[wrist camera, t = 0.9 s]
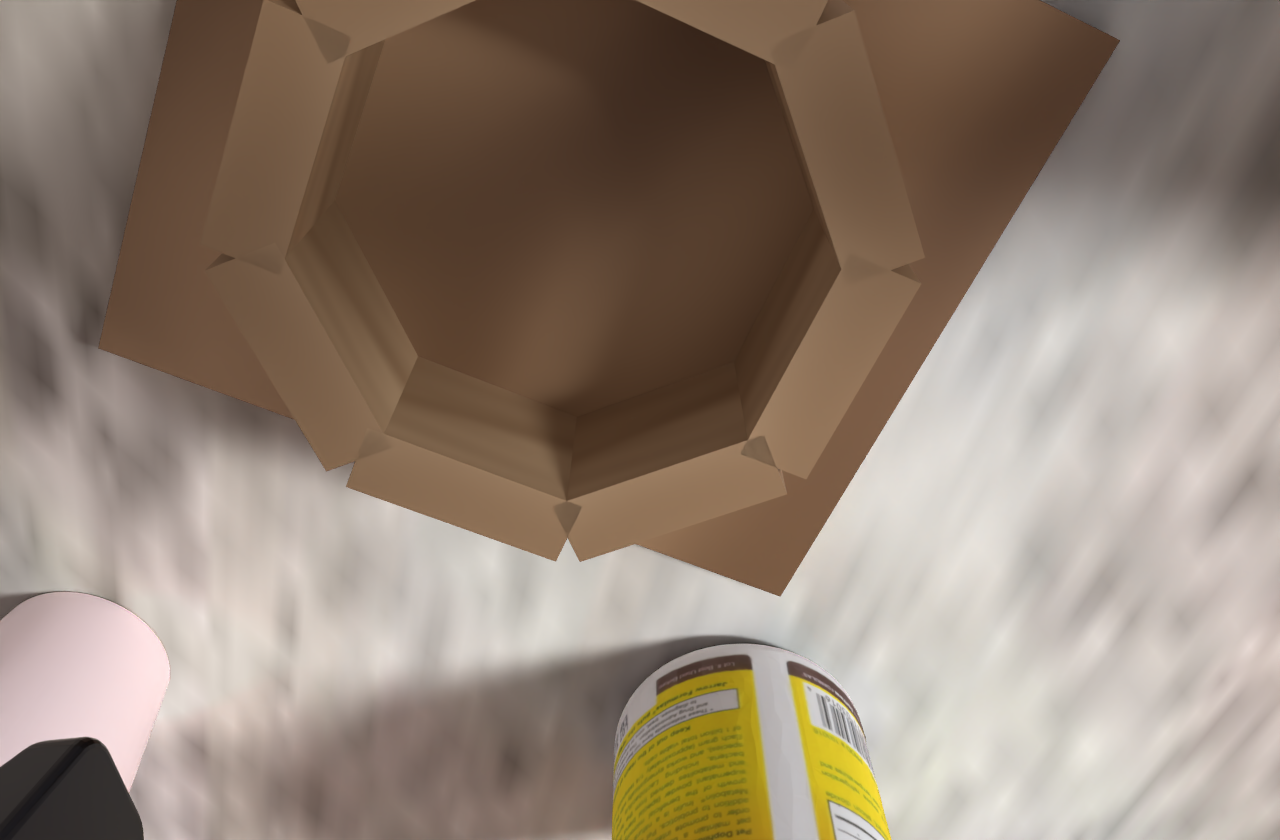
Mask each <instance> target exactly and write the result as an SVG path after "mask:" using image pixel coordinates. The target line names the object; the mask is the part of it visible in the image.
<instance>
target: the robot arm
mask: <svg viewBox="0 0 1280 840" xmlns="http://www.w3.org/2000/svg"><path fill="white" fill-rule="evenodd" d="M0 840H144V836H143V827H142V822H141V819H140V816H139V814H138V812H137V809H136V807H135V805H134V803H133V801H132V799H131V797H130V795H129V792H128V790H127V788H126V786H125V784H124V782H123V780H122V778H121V775H120V773H119V771H118V769H117V767H116V765H115V763H114V761H113V759H112V756H111V754H110V752H109V751H108V749H107V747H106V746H105V745H104V744H103V743H102V742H100V741H99V740H98V739H96V738H91V737H77V738H66V739H56V740H46V741H42V742H37V743H35V744H32V745H30V746H29V747H27V748H26V749H24V750H23V751H21V752H20V753H19V754H17V755H16V756H14V757H13V758H12V759H10V760H9V761H8V762H6V763H5V764H3V765H2V766H1V767H0Z"/></svg>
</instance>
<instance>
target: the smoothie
mask: <svg viewBox="0 0 1280 840" xmlns="http://www.w3.org/2000/svg"><path fill="white" fill-rule="evenodd" d="M169 680H170V665H169V660H168V657H167V654H166V651H165V649H164V647H163V645H162V643H161V642H160V640H159V639H158V637H157V636H156V634H155V633H154V632H153V631H152V630H151V628H150V627H149V626H148V625H147V624H146V623H145V622H143V621H142V620H141V619H140V618H139V617H137V616H136V615H134V614H133V613H132V612H130V611H128V610H127V609H125V608H124V607H122V606H120V605H118V604H116V603H113V602H111V601H109V600H106V599H103V598H100V597H97V596H93V595H89V594H84V593H77V592H52V593H46V594H41V595H38V596H35V597H32V598H30V599H27V600H25V601H24V602H22V603H20V604H19V605H18V606H16V607H15V608H14V609H13V610H12V611H10V612H9V613H8V614H7V615H6V616H5V617H4V618H3V619H1V620H0V767H1V766H2V765H3V764H5V763H6V762H8V761H9V760H10V759H12V758H13V757H14V756H16V755H17V754H19V753H20V752H21V751H23V750H24V749H26V748H27V747H29V746H30V745H32V744H35V743H37V742H42V741H46V740H56V739H66V738H77V737H91V738H96V739H98V740H99V741H100V742H102V743H103V744H104V745H105V746H106V747H107V749H108V751H109V752H110V754H111V756H112V759H113V761H114V763H115V765H116V767H117V769H118V771H119V773H120V775H121V778H122V780H123V782H124V784H125V786H126V788H127V790H128V792H129V791H130V789H131V786H132V783H133V781H134V778H135V775H136V772H137V770H138V767H139V764H140V761H141V759H142V756H143V753H144V750H145V748H146V745H147V742H148V740H149V737H150V734H151V731H152V729H153V726H154V723H155V720H156V718H157V715H158V712H159V710H160V707H161V704H162V701H163V699H164V696H165V693H166V690H167V688H168V685H169Z"/></svg>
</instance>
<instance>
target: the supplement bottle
mask: <svg viewBox="0 0 1280 840" xmlns="http://www.w3.org/2000/svg"><path fill="white" fill-rule="evenodd" d="M612 840H891V837H890V833H889V829H888V825H887V822H886V818H885V814H884V810H883V806H882V802H881V798H880V794H879V791H878V787H877V782H876V778H875V775H874V771H873V767H872V763H871V759H870V755H869V751H868V748H867V744H866V737H865V735H864V731H863V728H862V725H861V722H860V718H859V716H858V713H857V711H856V708H855V706H854V704H853V702H852V700H851V698H850V697H849V695H848V694H847V692H846V691H845V689H844V688H843V687H842V686H841V684H840V683H839V682H838V681H837V680H836V679H835V678H834V677H833V676H831V675H830V674H829V673H828V672H827V671H826V670H824V669H823V668H821V667H820V666H819V665H817V664H815V663H814V662H812V661H810V660H809V659H807V658H805V657H803V656H800V655H798V654H795V653H793V652H790V651H787V650H784V649H780V648H776V647H771V646H766V645H758V644H725V645H718V646H713V647H708V648H704V649H700V650H696V651H693V652H690V653H688V654H686V655H683V656H681V657H678V658H676V659H674V660H672V661H670V662H669V663H667V664H665V665H663V666H662V667H661V668H659V669H658V670H656V671H655V672H654V673H652V674H651V675H650V676H649V677H648V678H647V679H645V681H644V682H643V683H642V684H641V685H640V686H639V687H638V688H637V689H636V691H635V692H634V693H633V695H632V696H631V698H630V699H629V701H628V702H627V704H626V706H625V708H624V710H623V712H622V714H621V717H620V720H619V723H618V726H617V731H616V737H615V746H614V779H613V811H612Z"/></svg>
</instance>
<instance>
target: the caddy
mask: <svg viewBox="0 0 1280 840" xmlns="http://www.w3.org/2000/svg"><path fill="white" fill-rule="evenodd" d="M1119 42H1120V40H1118V39H1116V38H1114V37H1112V36H1110V35H1108V34H1106V33H1104V32H1102V31H1100V30H1098V29H1096V28H1094V27H1092V26H1090V25H1088V24H1086V23H1084V22H1082V21H1080V20H1078V19H1076V18H1074V17H1072V16H1070V15H1068V14H1066V13H1064V12H1062V11H1060V10H1058V9H1056V8H1054V7H1052V6H1050V5H1048V4H1046V3H1044V2H1042V1H1040V0H177V2H176V6H175V11H174V15H173V19H172V24H171V28H170V33H169V37H168V42H167V46H166V50H165V55H164V59H163V64H162V68H161V73H160V77H159V81H158V86H157V90H156V95H155V99H154V104H153V108H152V112H151V117H150V121H149V126H148V130H147V135H146V139H145V143H144V148H143V152H142V157H141V161H140V166H139V170H138V174H137V179H136V183H135V188H134V192H133V197H132V201H131V205H130V210H129V214H128V219H127V223H126V228H125V232H124V236H123V241H122V245H121V250H120V254H119V259H118V263H117V267H116V272H115V276H114V281H113V285H112V290H111V294H110V298H109V303H108V307H107V312H106V316H105V321H104V325H103V329H102V334H101V338H100V343H99V347H98V348H99V349H102V350H105V351H107V352H110V353H113V354H116V355H118V356H121V357H124V358H127V359H129V360H132V361H135V362H138V363H140V364H143V365H146V366H149V367H151V368H154V369H157V370H160V371H162V372H165V373H168V374H171V375H173V376H176V377H179V378H182V379H184V380H187V381H190V382H193V383H195V384H198V385H201V386H204V387H206V388H209V389H212V390H214V391H217V392H220V393H223V394H225V395H228V396H231V397H234V398H236V399H239V400H242V401H245V402H247V403H250V404H253V405H256V406H258V407H261V408H264V409H267V410H269V411H272V412H275V413H278V414H280V415H283V416H286V417H289V418H291V419H294V420H295V421H296V422H297V424H298V426H299V427H300V429H301V430H302V432H303V434H304V435H305V437H306V439H307V440H308V442H309V444H310V445H311V447H312V449H313V450H314V452H315V453H316V455H317V457H318V458H319V460H320V462H321V463H322V465H323V467H324V468H325V470H326V471H329V470H331V469H334V468H337V467H340V466H343V465H345V464H348V463H351V462H354V461H355V463H354V466H353V469H352V472H351V474H350V477H349V480H348V483H347V485H346V487H348V488H351V489H353V490H356V491H359V492H362V493H365V494H368V495H370V496H373V497H376V498H379V499H382V500H384V501H387V502H390V503H393V504H396V505H398V506H401V507H404V508H407V509H410V510H413V511H415V512H418V513H421V514H424V515H427V516H429V517H432V518H435V519H438V520H441V521H443V522H446V523H449V524H452V525H455V526H457V527H460V528H463V529H466V530H469V531H472V532H474V533H477V534H480V535H483V536H486V537H488V538H491V539H494V540H497V541H500V542H502V543H505V544H508V545H511V546H514V547H517V548H519V549H522V550H525V551H528V552H531V553H533V554H536V555H539V556H542V557H545V558H547V559H550V560H553V561H556V560H557V558H558V556H559V554H560V552H561V550H562V548H563V546H564V544H565V542H566V540H567V538H568V539H569V541H570V543H571V545H572V547H573V549H574V551H575V553H576V555H577V557H578V559H579V561H580V562H581V561H584V560H587V559H590V558H593V557H596V556H599V555H602V554H606V553H609V552H612V551H615V550H618V549H621V548H624V547H627V546H630V545H633V544H637V545H640V546H643V547H646V548H648V549H651V550H654V551H657V552H659V553H662V554H665V555H668V556H670V557H673V558H676V559H679V560H681V561H684V562H687V563H690V564H692V565H695V566H698V567H701V568H703V569H706V570H709V571H712V572H714V573H717V574H720V575H723V576H725V577H728V578H731V579H734V580H736V581H739V582H742V583H745V584H747V585H750V586H753V587H756V588H758V589H761V590H764V591H767V592H769V593H772V594H775V595H778V596H781V594H782V593H783V591H784V590H785V588H786V586H787V585H788V583H789V581H790V580H791V578H792V576H793V575H794V573H795V572H796V570H797V568H798V567H799V565H800V563H801V562H802V560H803V558H804V557H805V555H806V554H807V552H808V550H809V549H810V547H811V545H812V544H813V542H814V540H815V539H816V537H817V536H818V534H819V532H820V531H821V529H822V527H823V526H824V524H825V522H826V521H827V519H828V518H829V516H830V514H831V513H832V511H833V509H834V508H835V506H836V504H837V503H838V501H839V500H840V498H841V496H842V495H843V493H844V491H845V490H846V488H847V486H848V485H849V483H850V482H851V480H852V478H853V477H854V475H855V473H856V472H857V470H858V468H859V467H860V465H861V464H862V462H863V460H864V459H865V457H866V455H867V454H868V452H869V451H870V449H871V447H872V446H873V444H874V442H875V441H876V439H877V437H878V436H879V434H880V433H881V431H882V429H883V428H884V426H885V424H886V423H887V421H888V419H889V418H890V416H891V415H892V413H893V411H894V410H895V408H896V406H897V405H898V403H899V401H900V400H901V398H902V397H903V395H904V393H905V392H906V390H907V388H908V387H909V385H910V383H911V382H912V380H913V379H914V377H915V375H916V374H917V372H918V370H919V369H920V367H921V365H922V364H923V362H924V361H925V359H926V357H927V356H928V354H929V352H930V351H931V349H932V347H933V346H934V344H935V343H936V341H937V339H938V338H939V336H940V334H941V333H942V331H943V329H944V328H945V326H946V325H947V323H948V321H949V320H950V318H951V316H952V315H953V313H954V311H955V310H956V308H957V307H958V305H959V303H960V302H961V300H962V298H963V297H964V295H965V293H966V292H967V290H968V289H969V287H970V285H971V284H972V282H973V280H974V279H975V277H976V275H977V274H978V272H979V271H980V269H981V267H982V266H983V264H984V262H985V261H986V259H987V257H988V256H989V254H990V253H991V251H992V249H993V248H994V246H995V244H996V243H997V241H998V239H999V238H1000V236H1001V235H1002V233H1003V231H1004V230H1005V228H1006V226H1007V225H1008V223H1009V221H1010V220H1011V218H1012V217H1013V215H1014V213H1015V212H1016V210H1017V208H1018V207H1019V205H1020V203H1021V202H1022V200H1023V199H1024V197H1025V195H1026V194H1027V192H1028V190H1029V189H1030V187H1031V185H1032V184H1033V182H1034V181H1035V179H1036V177H1037V176H1038V174H1039V172H1040V171H1041V169H1042V167H1043V166H1044V164H1045V163H1046V161H1047V159H1048V158H1049V156H1050V154H1051V153H1052V151H1053V149H1054V148H1055V146H1056V145H1057V143H1058V141H1059V140H1060V138H1061V136H1062V135H1063V133H1064V131H1065V130H1066V128H1067V127H1068V125H1069V123H1070V122H1071V120H1072V118H1073V117H1074V115H1075V113H1076V112H1077V110H1078V109H1079V107H1080V105H1081V104H1082V102H1083V100H1084V99H1085V97H1086V95H1087V94H1088V92H1089V91H1090V89H1091V87H1092V86H1093V84H1094V82H1095V81H1096V79H1097V78H1098V76H1099V74H1100V73H1101V71H1102V69H1103V68H1104V66H1105V64H1106V63H1107V61H1108V60H1109V58H1110V56H1111V55H1112V53H1113V51H1114V50H1115V48H1116V46H1117V45H1118V43H1119Z"/></svg>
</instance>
